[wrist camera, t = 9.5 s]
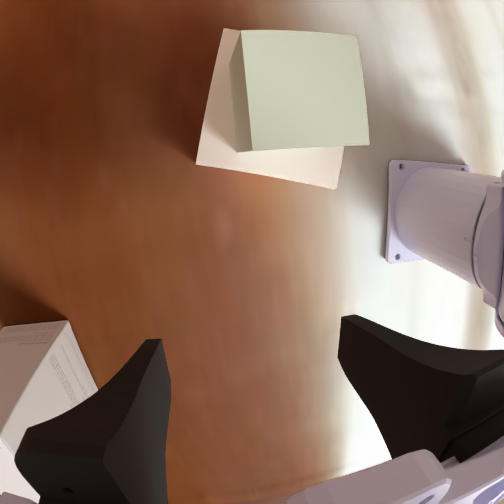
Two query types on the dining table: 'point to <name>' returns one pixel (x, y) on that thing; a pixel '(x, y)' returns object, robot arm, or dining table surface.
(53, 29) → the dining table surface
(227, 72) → the cream block
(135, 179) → the dining table surface
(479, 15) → the dining table surface
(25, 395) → the supplement box
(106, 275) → the dining table surface
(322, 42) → the sage block
